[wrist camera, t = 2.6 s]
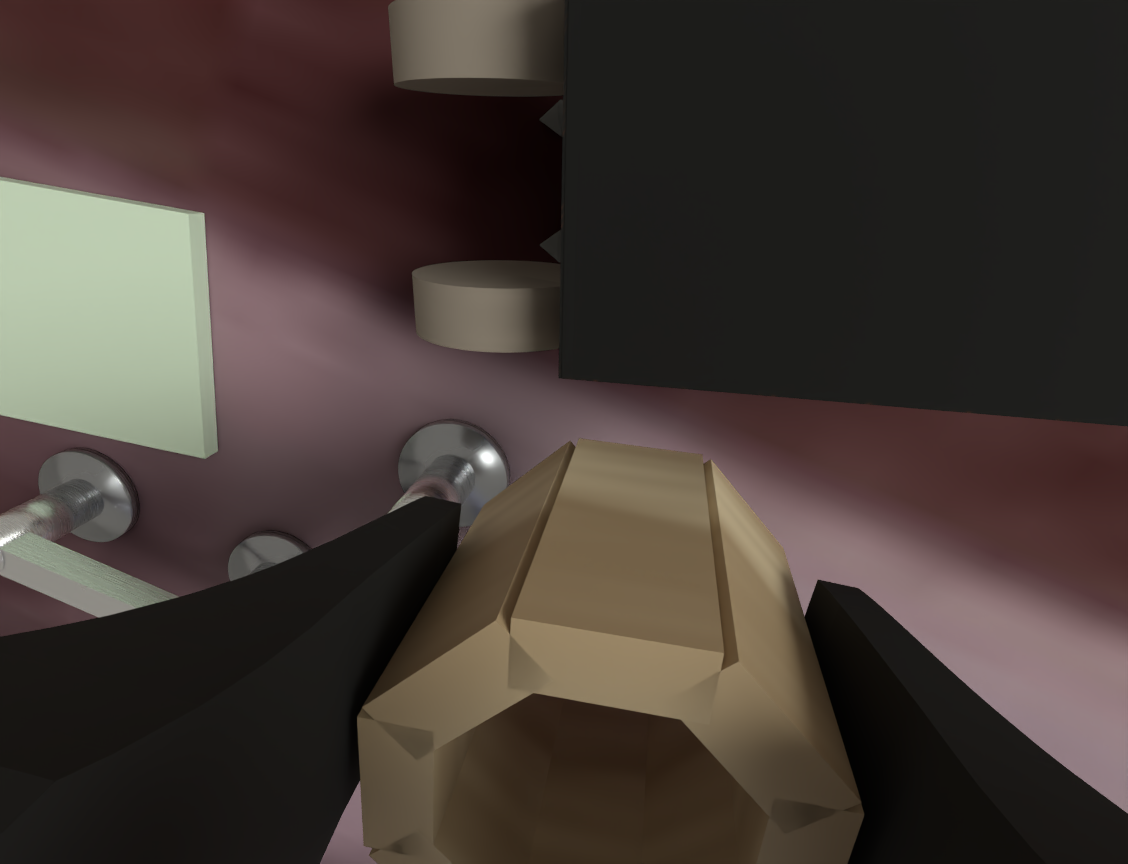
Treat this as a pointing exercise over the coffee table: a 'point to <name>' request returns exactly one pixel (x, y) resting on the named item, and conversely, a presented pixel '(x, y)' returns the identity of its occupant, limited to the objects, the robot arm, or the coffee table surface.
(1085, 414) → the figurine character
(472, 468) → the grey piece
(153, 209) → the pad
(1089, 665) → the coffee table surface
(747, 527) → the maple ring
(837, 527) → the coffee table surface
